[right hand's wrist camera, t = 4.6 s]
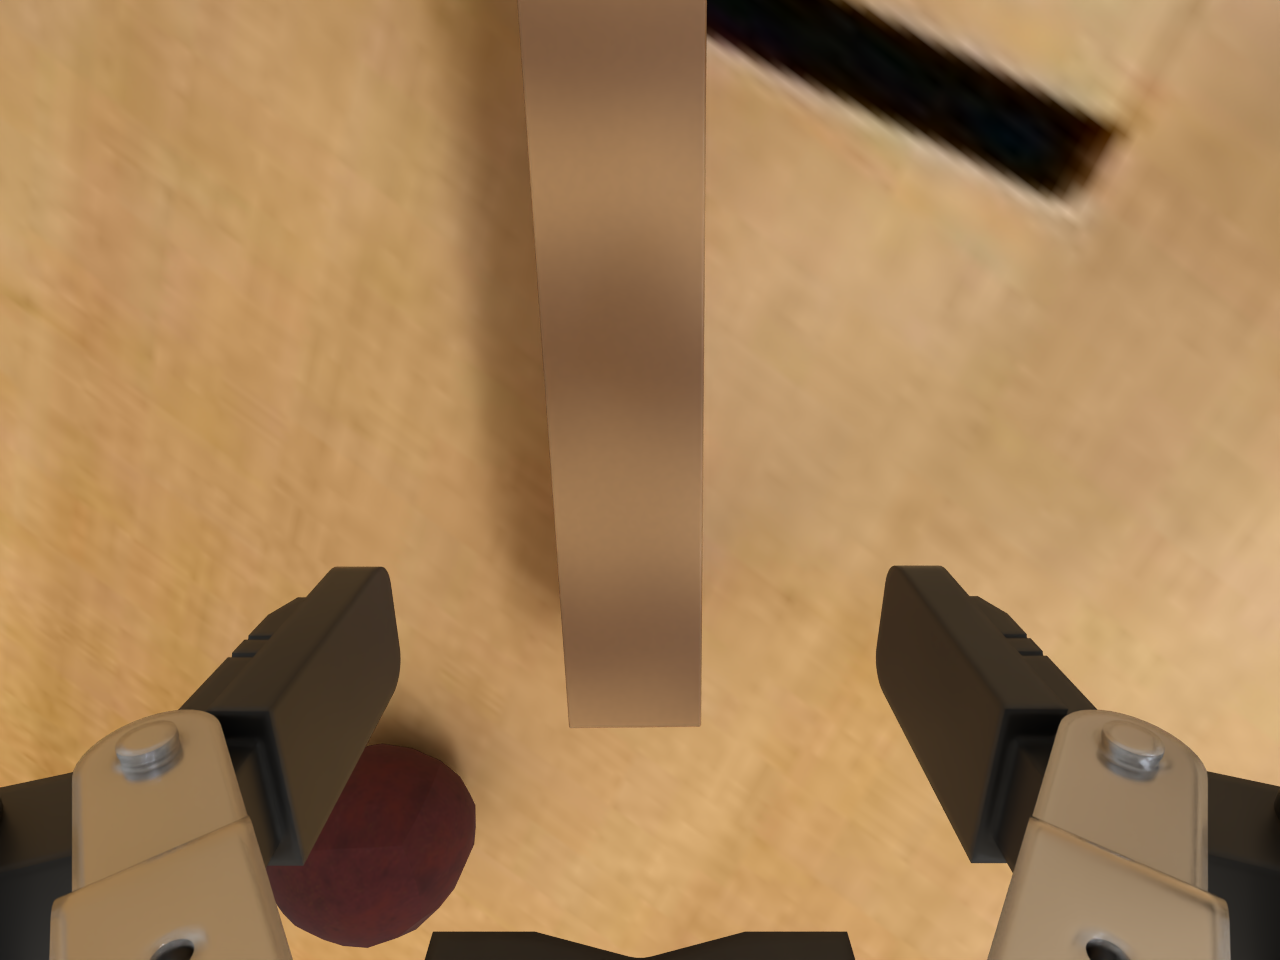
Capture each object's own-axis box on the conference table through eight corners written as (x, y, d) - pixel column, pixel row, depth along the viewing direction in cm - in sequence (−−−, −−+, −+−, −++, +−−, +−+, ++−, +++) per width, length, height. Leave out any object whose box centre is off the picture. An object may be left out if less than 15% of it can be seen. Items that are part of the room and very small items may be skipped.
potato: (296, 717, 30) (197, 856, 23) (472, 697, 30) (422, 833, 23) (344, 846, 33) (267, 1004, 26) (507, 829, 32) (471, 986, 26)
